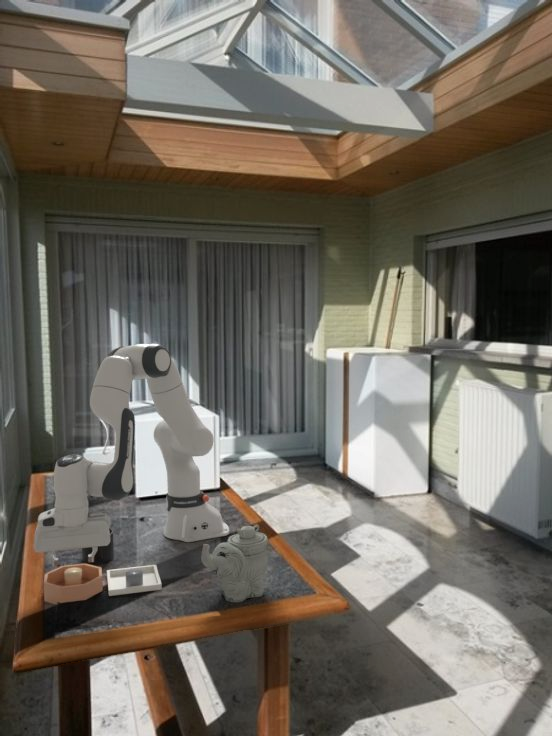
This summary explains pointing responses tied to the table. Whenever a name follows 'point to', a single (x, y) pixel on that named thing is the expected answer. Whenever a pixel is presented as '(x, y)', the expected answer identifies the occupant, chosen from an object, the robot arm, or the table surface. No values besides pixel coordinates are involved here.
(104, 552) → the mug
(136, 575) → the slate pebble
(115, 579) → the tray
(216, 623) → the table surface
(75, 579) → the sand pebble
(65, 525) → the robot arm
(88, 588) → the bowl
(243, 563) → the teapot
